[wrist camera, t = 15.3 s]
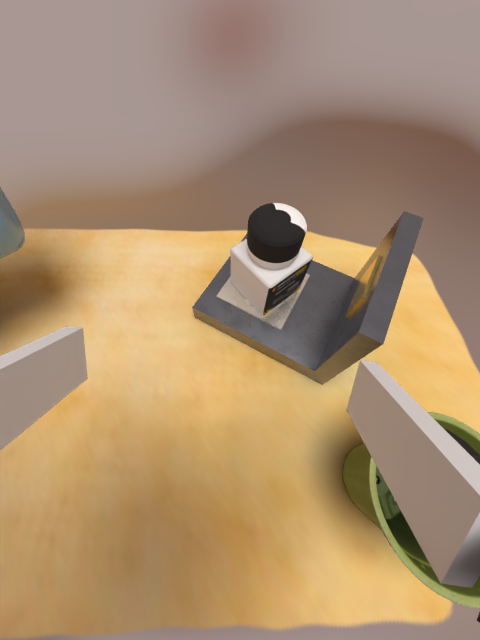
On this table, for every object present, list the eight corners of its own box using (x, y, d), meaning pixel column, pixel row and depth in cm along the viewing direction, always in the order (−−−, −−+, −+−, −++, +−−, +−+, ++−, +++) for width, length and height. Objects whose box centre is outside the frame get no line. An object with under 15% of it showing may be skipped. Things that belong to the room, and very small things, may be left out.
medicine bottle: (263, 317, 34) (277, 257, 23) (229, 282, 36) (228, 213, 25) (300, 289, 36) (329, 222, 25) (266, 258, 38) (279, 185, 27)
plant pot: (439, 553, 26) (571, 623, 16) (323, 536, 26) (380, 593, 16) (417, 429, 31) (506, 421, 21) (321, 416, 31) (362, 402, 21)
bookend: (195, 317, 37) (173, 244, 24) (246, 245, 43) (253, 156, 30) (322, 384, 33) (383, 343, 20) (358, 295, 40) (423, 218, 26)
